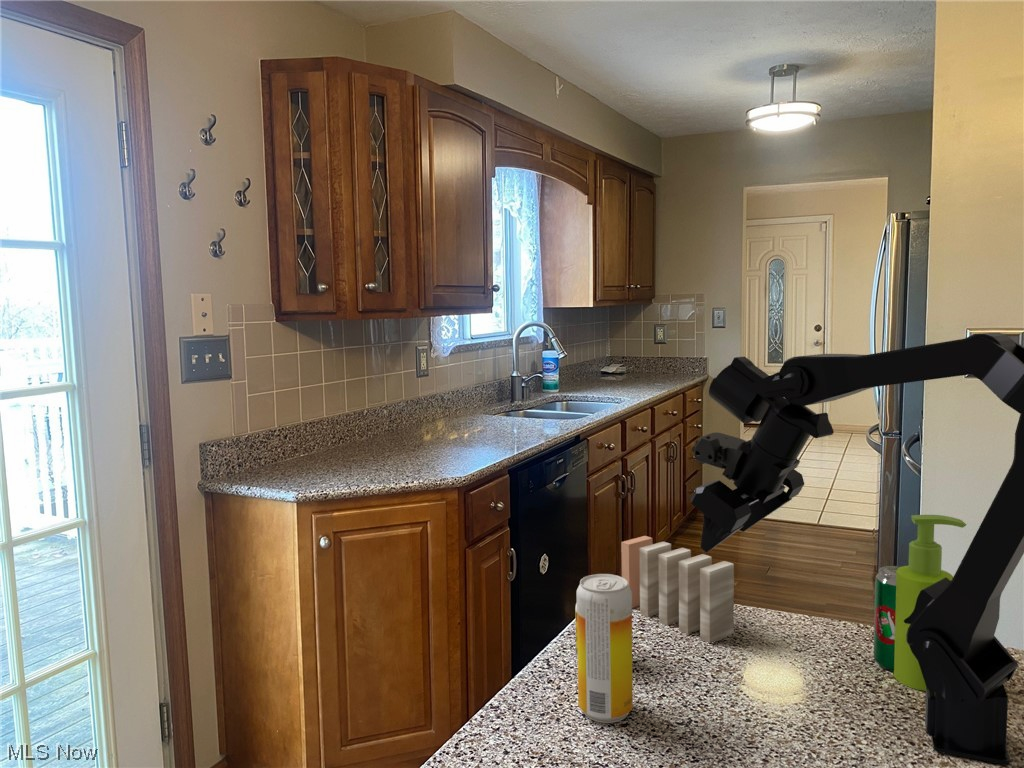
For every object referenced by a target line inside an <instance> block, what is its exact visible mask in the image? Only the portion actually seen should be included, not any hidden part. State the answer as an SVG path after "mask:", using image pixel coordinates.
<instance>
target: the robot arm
mask: <svg viewBox="0 0 1024 768" xmlns="http://www.w3.org/2000/svg"><path fill="white" fill-rule="evenodd" d="M969 375H971V376H974V377H975V378H976V379H978V380H979V381H981V383H983V385H985V386H986V387H987V388H988V389H989V390H990V391H991V392H992V393H993V394H994V395H995V396H996V397H997V398H998V399H999V400H1000V401H1002V402H1003V403H1004V404H1005V405H1007V406H1008V407H1009V408H1011V409H1013V410H1014V411H1016V412H1017V413H1019V419H1018V422H1017V424H1016V429H1015V433H1014V447H1013V449H1014V450H1013V460H1012V463H1011V466H1010V468H1009V469H1008V471H1007V473H1006V475H1005V477H1004V479H1003V481H1002V483H1001V485H1000V486H999V489H998V490H997V493H996V494H995V497H994V499H993V500H992V502H991V504H990V505H989V507H988V510H987V512H986V514H985V516H984V517H983V520H982V521H981V524H980V525H979V527H978V529H977V531H976V533H975V535H974V536H973V538H972V540H971V542H970V544H969V547H968V548H967V550H966V552H965V554H964V556H963V557H962V560H961V561H960V563H959V565H958V568H957V569H956V571H955V573H954V574H953V579H952V580H951V581H950V580H949V579H948V578H946V577H945V578H944V579H942V580H940V581H938V582H936V583H934V584H932V585H930V586H928V587H927V588H925V589H923V590H921V591H920V593H919V595H918V597H917V601H916V605H915V608H914V611H913V612H912V614H911V615H910V616H909V617H908V618H906V619H905V620H904V623H907V624H911V625H910V626H909V628H908V630H907V634H906V641H907V643H908V644H909V646H910V649H911V651H912V653H913V654H914V656H915V657H916V659H917V660H918V663H919V666H920V669H921V672H922V675H923V678H924V681H925V684H926V691H925V711H924V713H925V714H924V715H925V716H924V720H925V721H924V724H925V730H926V734H927V736H929V737H931V742H932V749H933V750H934V751H935V752H938V753H943V754H948V755H953V756H958V757H963V758H968V759H972V760H973V759H974V760H979V761H984V762H989V763H993V764H999V765H1003V766H1009V765H1010V764H1011V758H1010V755H1009V752H1008V749H1007V739H1008V738H1007V736H1008V735H1007V734H1008V733H1007V732H1008V709H1009V695H1008V693H1007V690H1006V688H1005V685H1004V684H1005V683H1006V682H1008V681H1010V680H1011V679H1012V677H1013V676H1014V674H1015V672H1016V671H1017V668H1018V667H1019V662H1017V660H1016V659H1015V658H1014V657H1013V656H1012V654H1011V653H1010V652H1009V651H1008V650H1007V648H1005V646H1004V645H1003V644H1002V643H1001V642H1000V640H999V639H998V638H997V637H996V636H995V635H996V631H997V627H998V624H999V620H1000V609H1001V607H1000V606H1001V597H1002V594H1003V591H1004V590H1005V588H1006V586H1007V585H1008V583H1009V582H1010V581H1009V580H1010V579H1011V577H1012V575H1013V573H1014V572H1015V571H1016V568H1017V567H1018V565H1019V563H1020V560H1021V559H1022V557H1023V556H1024V346H1023V345H1021V344H1020V343H1019V342H1017V341H1016V340H1014V339H1013V338H1011V337H1010V336H1008V335H1007V334H1005V333H1001V332H985V333H984V332H983V333H975V334H971V335H970V336H967V337H965V338H959V339H956V340H955V339H954V340H948V341H941V342H936V343H931V344H924V345H918V346H913V347H906V348H900V349H894V350H887V351H883V352H882V351H881V352H875V353H870V354H855V353H819V354H810V355H809V354H807V355H798V356H792V357H790V358H788V359H786V360H785V361H783V364H782V366H781V368H780V370H779V371H777V372H775V373H774V374H770V375H769V374H767V373H766V372H765V371H764V370H762V369H761V368H759V367H758V366H756V365H755V363H754V362H752V360H751V359H749V358H748V357H746V356H737V357H733V360H732V361H731V363H730V364H729V365H727V366H726V367H725V368H724V369H722V370H721V371H720V373H718V374H717V375H716V377H714V378H713V379H712V381H711V382H710V386H709V388H708V396H709V397H710V399H711V400H713V401H715V402H716V403H717V404H718V405H719V406H721V407H722V408H724V410H726V411H727V412H729V413H730V414H731V415H732V416H734V417H735V418H736V419H737V420H739V421H740V422H741V423H743V424H750V423H752V422H755V423H758V422H760V423H759V425H758V426H757V428H756V430H755V431H754V434H753V435H752V436H751V439H749V440H745V439H742V438H740V437H736V436H733V435H729V434H727V433H721V432H711V433H708V434H706V435H702V436H699V438H698V439H697V440H696V441H695V445H694V446H692V448H691V452H692V453H693V457H694V459H695V460H696V462H698V463H699V464H701V465H704V464H707V465H710V466H712V467H716V468H719V469H723V472H722V474H721V475H722V476H723V477H725V478H726V479H727V480H729V481H731V480H732V481H733V485H734V486H735V487H736V488H735V489H732V488H730V487H729V486H728V485H727V484H725V483H724V482H722V480H719V479H718V480H713V481H709V482H706V483H704V484H703V485H700V486H698V487H696V488H695V489H694V491H693V493H692V495H691V497H690V499H689V500H690V504H691V505H692V506H694V507H695V508H696V509H697V510H698V511H699V512H701V514H702V517H703V518H702V520H703V521H702V529H701V530H702V532H701V537H700V538H701V540H700V549H701V550H703V551H704V552H705V553H708V552H710V551H712V550H714V548H716V547H717V546H718V545H721V543H723V542H724V541H726V540H727V539H728V538H729V537H731V536H732V535H734V534H735V533H737V532H738V531H740V532H742V533H743V532H746V531H747V530H749V529H751V528H752V527H753V526H754V525H756V524H758V522H760V521H762V520H763V519H765V518H767V517H768V516H769V515H771V514H773V512H775V511H777V510H778V509H780V508H782V507H783V506H784V505H786V504H787V503H789V502H790V501H792V499H794V497H796V496H798V495H799V494H800V492H801V491H802V489H803V487H804V486H805V480H804V478H803V474H802V473H800V472H799V471H797V470H796V469H797V468H798V466H799V465H800V463H801V460H799V459H798V458H799V456H800V454H801V452H802V450H803V449H804V447H805V445H806V443H807V441H808V440H809V438H811V437H812V438H814V439H819V438H824V437H830V436H832V435H834V432H835V431H834V429H833V426H832V423H831V422H830V420H829V413H827V412H821V413H816V412H815V411H813V409H810V408H809V407H807V406H811V405H817V404H823V403H829V402H833V401H837V400H839V399H840V400H841V399H843V398H846V397H851V396H852V395H855V394H858V393H862V392H864V391H866V390H869V389H873V388H876V387H884V386H885V387H886V386H891V385H900V384H901V385H902V384H909V383H915V382H916V383H917V382H922V381H930V380H939V379H945V378H946V379H947V378H953V377H961V376H969ZM810 436H811V437H810ZM786 488H788V489H787V491H785V490H786Z"/></svg>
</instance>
